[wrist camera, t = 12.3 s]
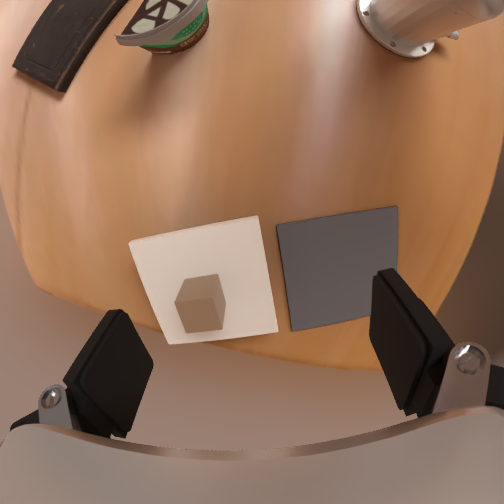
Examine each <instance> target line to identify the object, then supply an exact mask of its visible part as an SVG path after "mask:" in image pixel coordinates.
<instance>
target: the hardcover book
mask: <svg viewBox="0 0 504 504" xmlns="http://www.w3.org/2000/svg"><path fill="white" fill-rule="evenodd" d="M127 1H128V0H52V1H51V2H50V4H49V5H48V6H47V8H46V9H45V11H44V12H43V13H42V15H41V16H40V18H39V19H38V21H37V22H36V24H35V26H34V27H33V29H32V30H31V32H30V34H29V35H28V37H27V39H26V40H25V42H24V44H23V46H22V48H21V49H20V51H19V53H18V55H17V57H16V59H15V61H14V63H13V65H12V67H14V68H16V69H18V70H20V71H22V72H23V73H25V74H27V75H29V76H31V77H33V78H35V79H36V80H38V81H40V82H42V83H44V84H46V85H47V86H49V87H51V88H53V89H55V90H56V91H59V92H66V90H67V89H68V87H69V85H70V83H71V81H72V79H73V78H74V76H75V74H76V72H77V71H78V69H79V67H80V66H81V64H82V62H83V61H84V59H85V57H86V56H87V54H88V53H89V51H90V50H91V48H92V47H93V45H94V44H95V42H96V41H97V39H98V38H99V37H100V35H101V34H102V32H103V31H104V30H105V28H106V27H107V26H108V24H109V23H110V22H111V20H112V19H113V18H114V17H115V15H116V14H117V13H118V12H119V11H120V9H121V8H122V7H123V6H124V5H125V3H126V2H127Z"/></svg>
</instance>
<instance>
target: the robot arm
mask: <svg viewBox="0 0 504 504" xmlns="http://www.w3.org/2000/svg"><path fill="white" fill-rule="evenodd" d="M503 11H504V0H357V12H358V15H359V18H360V20H361V22H362V24H363V25H364V27H365V28H366V30H367V31H368V32H369V33H370V34H371V36H372V37H373V38H374V39H375V40H377V41H378V42H379V43H380V44H381V45H383V46H384V47H385V48H387V49H388V50H390V51H392V52H394V53H396V54H398V55H401V56H404V57H409V58H417V57H422V56H424V55H426V54H428V53H429V52H430V51H431V50H432V49H433V46H434V44H435V39H437V38H439V37H444V36H446V37H448V38H451V39H455V40H458V38H459V32H458V31H457V30H460V29H463V28H466V27H469V26H471V25H475V24H478V23H481V22H484V21H487V20H490V19H493V18H496V17H498V16H499V15H500V14H501V13H502V12H503ZM369 336H370V341H371V343H372V345H373V348H374V350H375V352H376V355H377V357H378V359H379V362H380V364H381V366H382V369H383V371H384V373H385V376H386V378H387V381H388V383H389V386H390V388H391V391H392V393H393V396H394V398H395V400H396V403H397V406H398V408H399V409H400V410H402V409H403V410H404V412H405V415H406V416H409V415H411V414H414V413H416V414H417V416H418V418H417V419H413V420H410V421H407V422H403V423H400V424H397V425H394V426H390V427H387V428H383V429H380V430H376V431H373V432H368V433H364V434H360V435H356V436H351V437H347V438H343V439H338V440H332V441H327V442H322V443H315V444H309V445H302V446H294V447H285V448H274V449H261V450H240V451H239V450H238V451H213V450H211V451H209V450H188V449H176V448H165V447H157V446H150V445H142V444H136V443H130V442H124V441H119V440H114V439H111V438H110V436H111V433H112V434H113V435H114V436H115V437H120V438H126V435H127V432H129V431H130V430H131V428H132V425H133V422H134V419H135V416H136V413H137V410H138V407H139V405H140V401H141V399H142V396H143V393H144V391H145V388H146V385H147V382H148V380H149V377H150V374H151V372H152V369H153V360H152V358H151V356H150V355H149V353H148V351H147V349H146V348H145V346H144V344H143V342H142V340H141V339H140V337H139V335H138V333H137V331H136V329H135V327H134V325H133V323H132V321H131V319H130V317H129V315H128V314H127V313H125V312H124V311H123V310H122V309H117V310H109V311H108V312H107V313H106V314H105V316H104V317H103V319H102V320H101V321H100V323H99V324H98V326H97V327H96V329H95V331H94V332H93V333H92V335H91V336H90V338H89V339H88V341H87V342H86V344H85V345H84V347H83V349H82V350H81V351H80V353H79V354H78V356H77V358H76V359H75V361H74V363H73V364H72V366H71V367H70V369H69V371H68V372H67V374H66V375H65V377H64V379H63V382H64V383H65V384H66V385H67V389H64V387H63V386H62V385H59V384H55V385H52V386H50V387H48V388H46V389H45V390H44V391H43V392H42V394H41V395H40V398H39V401H38V410H36V411H34V412H32V413H31V414H29V415H27V416H25V417H23V418H21V419H20V420H18V421H16V422H14V423H13V424H12V425H11V428H10V433H9V434H8V436H7V437H6V439H5V440H4V441H3V442H2V443H1V444H0V504H504V368H503V367H499V366H495V365H492V364H490V357H489V354H488V352H487V351H486V350H485V349H484V348H483V347H482V346H480V345H479V344H476V343H473V342H464V343H460V344H458V345H456V346H455V344H454V343H453V341H452V340H451V339H450V337H449V336H448V334H447V333H446V332H445V330H444V329H443V327H442V326H441V325H440V323H439V322H438V321H437V319H436V318H435V317H434V315H433V314H432V313H431V311H430V310H429V309H428V307H427V306H426V305H425V304H424V302H423V301H422V300H421V299H419V298H418V297H417V296H416V295H415V293H414V292H413V291H412V290H411V288H410V287H409V286H408V285H407V284H406V282H405V281H404V280H403V279H402V278H401V276H400V275H399V274H398V273H397V272H396V270H395V269H394V268H389V269H384V270H379V271H378V272H377V275H375V276H373V281H372V302H371V317H370V329H369Z"/></svg>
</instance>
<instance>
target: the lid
mask: <svg viewBox="0 0 504 504" xmlns="http://www.w3.org/2000/svg"><path fill="white" fill-rule="evenodd" d="M128 244H129V247H130V250H131V253H132V256H133V259H134V261H135V264H136V267H137V270H138V272H139V275H140V278H141V280H142V283H143V286H144V288H145V291H146V293H147V296H148V298H149V301H150V303H151V306H152V308H153V310H154V313H155V315H156V317H157V320H158V322H159V324H160V327H161V329H162V331H163V333H164V335H165V338H166V340H167V342H168V344H181V343H193V342H204V341H214V340H223V339H231V338H239V337H247V336H254V335H261V334H268V333H274V332H279V331H278V325H277V319H276V313H275V307H274V301H273V296H272V290H271V284H270V279H269V273H268V268H267V262H266V256H265V251H264V245H263V240H262V234H261V229H260V224H259V218H258V215H256V216H251V217H245V218H239V219H234V220H229V221H223V222H218V223H213V224H208V225H203V226H198V227H193V228H188V229H183V230H178V231H173V232H168V233H163V234H159V235H154V236H149V237H145V238H140V239H136V240H132V241H130V242H129V243H128Z"/></svg>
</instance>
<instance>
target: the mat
mask: <svg viewBox="0 0 504 504" xmlns="http://www.w3.org/2000/svg"><path fill="white" fill-rule="evenodd" d="M276 226H277V232H278V238H279V244H280V251H281V257H282V263H283V270H284V277H285V283H286V290H287V297H288V304H289V311H290V318H291V325H292V332H293V331H299V330H304V329H309V328H315V327H320V326H325V325H330V324H334V323H339V322H344V321H348V320H353V319H357V318H361V317H365V316H369V315H371V302H372V281H373V276H375V275H377V272H378V271H379V270H384V269H389V268H394V269H395V270H396V272H397V257H398V207H397V206H392V207H385V208H378V209H372V210H365V211H358V212H352V213H345V214H339V215H333V216H326V217H320V218H314V219H308V220H302V221H296V222H290V223H284V224H278V225H276Z"/></svg>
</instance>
